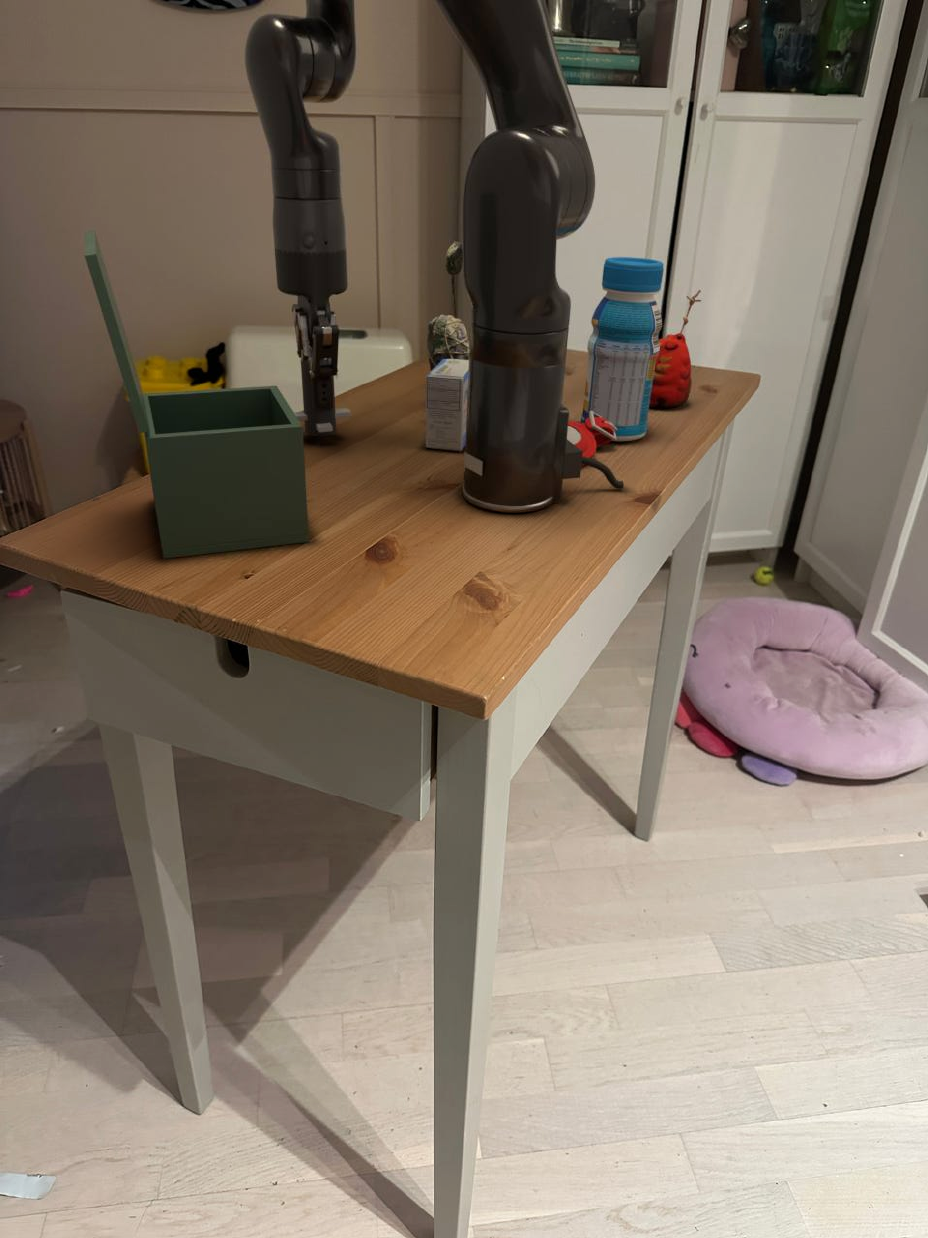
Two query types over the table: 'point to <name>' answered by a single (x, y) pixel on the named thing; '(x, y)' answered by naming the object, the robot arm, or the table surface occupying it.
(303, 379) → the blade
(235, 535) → the chest
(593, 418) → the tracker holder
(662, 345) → the red clay folk toy
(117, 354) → the lid
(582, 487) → the table surface
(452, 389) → the medicine box
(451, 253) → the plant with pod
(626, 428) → the beverage bottle
